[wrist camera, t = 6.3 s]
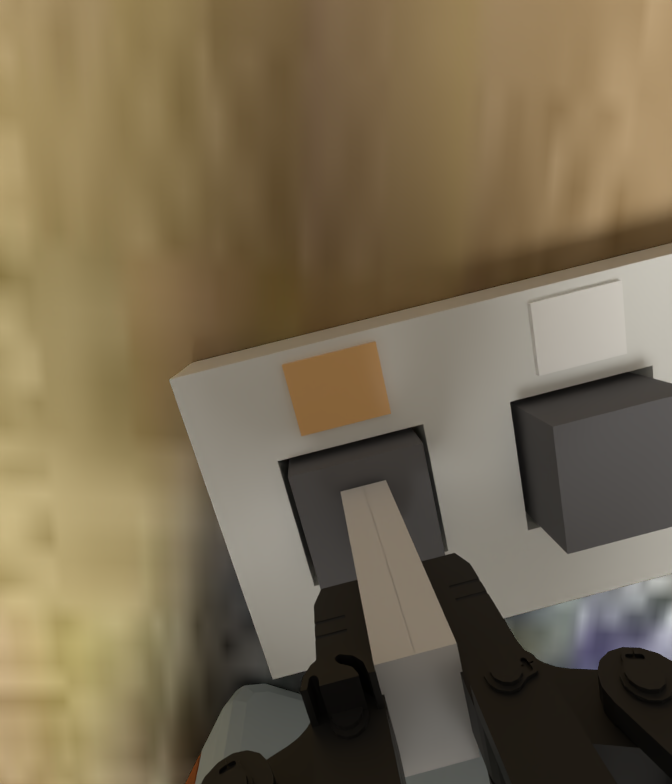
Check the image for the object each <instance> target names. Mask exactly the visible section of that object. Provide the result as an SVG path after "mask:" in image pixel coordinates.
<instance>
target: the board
mask: <svg viewBox="0 0 672 784" xmlns="http://www.w3.org/2000/svg"><path fill="white" fill-rule="evenodd" d="M625 372H631V373H635V374H639V375H642V376H646V377H650V378H654V379H657V380H661V381H665V382H668V383H672V243H669V244H665V245H661V246H657V247H653V248H649V249H645V250H641V251H637V252H633V253H629V254H625V255H621V256H617V257H613V258H609V259H605V260H601V261H597V262H593V263H589V264H585V265H581V266H577V267H573V268H569V269H565V270H561V271H557V272H553V273H549V274H545V275H541V276H537V277H533V278H529V279H525V280H521V281H517V282H513V283H509V284H505V285H501V286H497V287H493V288H489V289H485V290H481V291H477V292H473V293H469V294H465V295H461V296H457V297H453V298H449V299H445V300H441V301H437V302H433V303H429V304H425V305H421V306H417V307H413V308H409V309H405V310H401V311H397V312H393V313H389V314H385V315H381V316H377V317H373V318H369V319H365V320H361V321H357V322H353V323H349V324H345V325H341V326H337V327H333V328H329V329H325V330H321V331H317V332H313V333H309V334H305V335H301V336H297V337H293V338H289V339H285V340H281V341H277V342H273V343H269V344H265V345H261V346H257V347H253V348H249V349H245V350H241V351H237V352H233V353H229V354H225V355H221V356H217V357H213V358H209V359H205V360H201V361H197V362H193V363H191V364H189V365H188V366H187V367H185V368H184V369H183V370H181V371H180V372H179V373H177V374H176V375H174V376H173V377H172V378H170V379H169V381H170V384H171V387H172V390H173V393H174V396H175V398H176V401H177V404H178V407H179V410H180V413H181V416H182V419H183V421H184V424H185V427H186V430H187V433H188V436H189V439H190V442H191V445H192V447H193V450H194V453H195V456H196V459H197V462H198V465H199V468H200V471H201V473H202V476H203V479H204V482H205V485H206V488H207V491H208V494H209V496H210V499H211V502H212V505H213V508H214V511H215V514H216V517H217V520H218V522H219V525H220V528H221V531H222V534H223V537H224V540H225V543H226V546H227V548H228V551H229V554H230V557H231V560H232V563H233V566H234V569H235V571H236V574H237V577H238V580H239V583H240V586H241V589H242V592H243V595H244V597H245V600H246V603H247V606H248V609H249V612H250V615H251V618H252V620H253V623H254V626H255V629H256V632H257V635H258V638H259V641H260V644H261V646H262V649H263V652H264V655H265V658H266V661H267V664H268V667H269V670H270V672H271V675H272V678H273V679H277V678H281V677H284V676H288V675H292V674H296V673H299V672H303V671H307V670H308V668H309V667H310V665H311V664H312V663H313V662H315V661H316V648H315V641H316V639H315V623H314V604H315V602H316V599H317V597H318V595H319V592H320V590H321V589H320V585H319V582H318V579H317V575H316V572H315V568H314V565H313V561H312V558H311V555H310V551H309V548H308V544H307V541H306V537H305V534H304V531H303V527H302V524H301V520H300V517H299V513H298V510H297V507H296V503H295V500H294V496H293V493H292V489H291V486H290V483H289V479H288V468H289V458H292V457H296V456H300V455H304V454H308V453H311V452H315V451H319V450H323V449H327V448H331V447H335V446H339V445H343V444H347V443H351V442H355V441H358V440H362V439H366V438H370V437H374V436H378V435H382V434H386V433H390V432H394V431H398V430H402V429H406V428H409V427H411V428H412V430H413V431H414V432H415V433H416V435H417V436H418V437H419V439H420V440H421V441H422V443H423V447H424V452H425V457H426V462H427V467H428V472H429V477H430V482H431V487H432V492H433V497H434V502H435V507H436V512H437V517H438V522H439V527H440V532H441V537H442V542H443V547H444V552H445V555H448V554H452V553H456V554H457V555H459V556H460V557H462V558H463V559H464V560H466V561H467V562H469V563H470V564H471V566H472V567H473V569H474V571H475V572H476V574H477V576H478V577H479V580H480V581H481V582H482V584H483V586H484V587H485V589H486V591H487V593H488V594H489V595H490V597H491V599H492V600H493V602H494V604H495V605H496V607H497V609H498V610H499V612H500V614H501V615H502V617H503V618H507V617H511V616H515V615H518V614H522V613H526V612H530V611H533V610H537V609H541V608H545V607H549V606H552V605H556V604H560V603H564V602H567V601H571V600H575V599H579V598H582V597H586V596H590V595H594V594H598V593H601V592H605V591H609V590H613V589H616V588H620V587H624V586H628V585H632V584H635V583H639V582H643V581H647V580H650V579H654V578H658V577H662V576H666V575H669V574H672V527H669V528H666V529H662V530H658V531H654V532H650V533H647V534H643V535H639V536H635V537H631V538H628V539H624V540H620V541H616V542H612V543H609V544H605V545H601V546H597V547H593V548H589V549H586V550H582V551H578V552H574V553H570V554H567V553H566V552H565V551H564V550H563V549H562V548H561V547H560V546H559V545H558V544H557V543H556V542H555V541H554V540H553V539H552V538H551V537H550V536H549V535H548V534H547V533H546V532H545V531H544V530H543V529H542V528H541V527H540V526H539V525H538V524H537V523H536V522H535V521H534V520H533V519H532V518H531V517H530V516H529V515H528V514H527V513H526V512H525V505H524V498H523V491H522V484H521V477H520V470H519V463H518V456H517V449H516V442H515V435H514V428H513V421H512V414H511V407H510V402H511V401H515V400H519V399H523V398H527V397H531V396H535V395H539V394H543V393H547V392H551V391H554V390H558V389H562V388H566V387H570V386H574V385H578V384H582V383H586V382H590V381H594V380H598V379H601V378H605V377H609V376H613V375H617V374H621V373H625Z"/></svg>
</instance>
